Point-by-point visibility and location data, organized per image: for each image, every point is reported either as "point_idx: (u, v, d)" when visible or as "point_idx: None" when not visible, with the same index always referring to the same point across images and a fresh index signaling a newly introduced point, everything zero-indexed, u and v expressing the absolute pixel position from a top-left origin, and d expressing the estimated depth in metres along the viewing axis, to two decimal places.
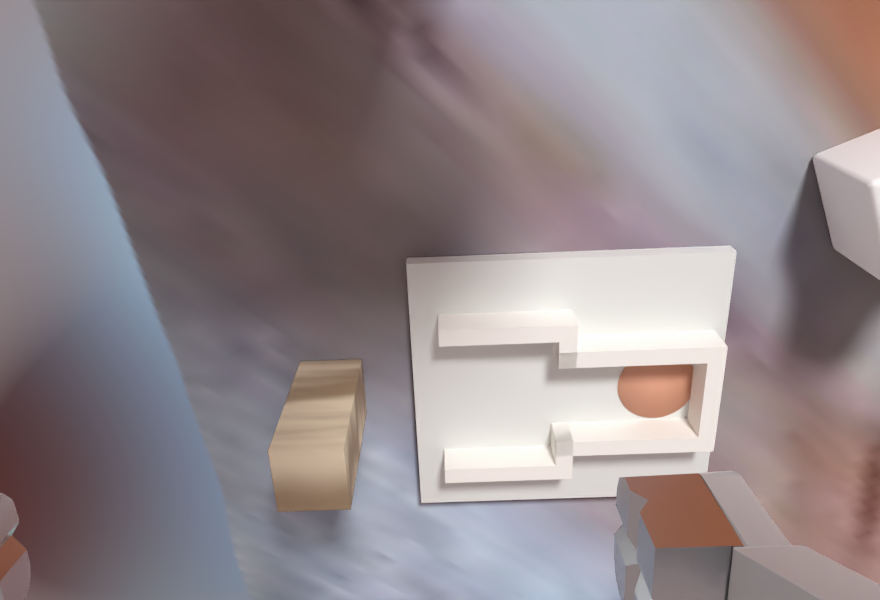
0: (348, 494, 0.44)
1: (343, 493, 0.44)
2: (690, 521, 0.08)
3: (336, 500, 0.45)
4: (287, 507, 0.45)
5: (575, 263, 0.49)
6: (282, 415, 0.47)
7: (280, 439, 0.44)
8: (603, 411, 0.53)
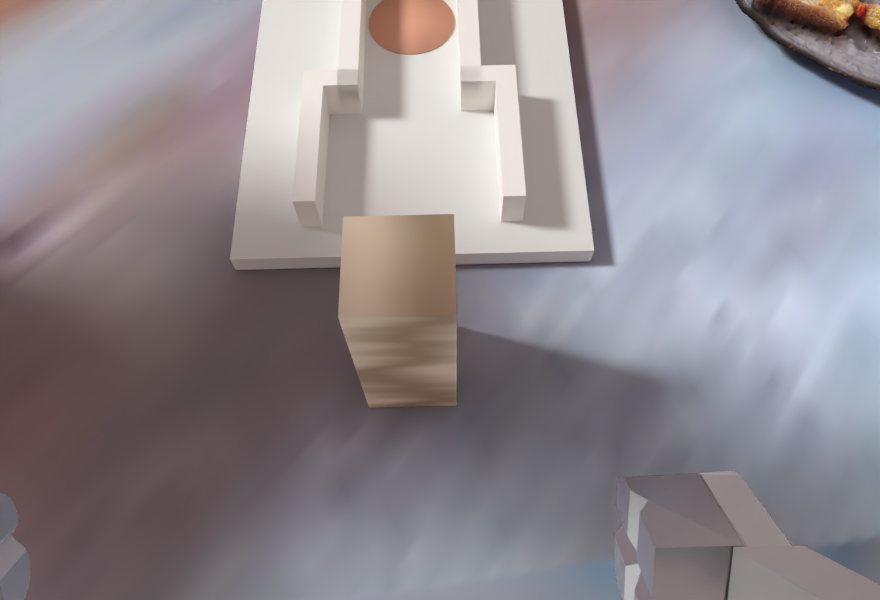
0: (426, 216, 0.29)
1: (424, 221, 0.29)
2: (690, 522, 0.08)
3: (436, 231, 0.29)
4: (449, 299, 0.28)
5: (256, 99, 0.45)
6: None
7: None
8: (445, 64, 0.46)
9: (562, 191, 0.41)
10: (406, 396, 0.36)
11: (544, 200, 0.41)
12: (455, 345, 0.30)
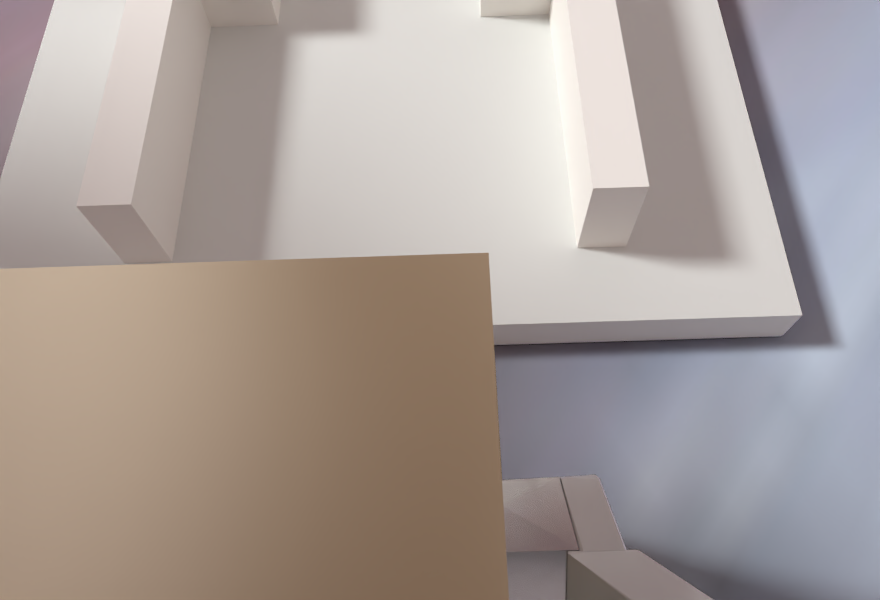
0: (367, 262, 0.07)
1: (354, 290, 0.06)
2: (535, 525, 0.08)
3: (410, 337, 0.06)
4: None
5: (67, 1, 0.22)
6: None
7: None
8: None
9: (710, 178, 0.19)
10: None
11: (671, 198, 0.18)
12: None
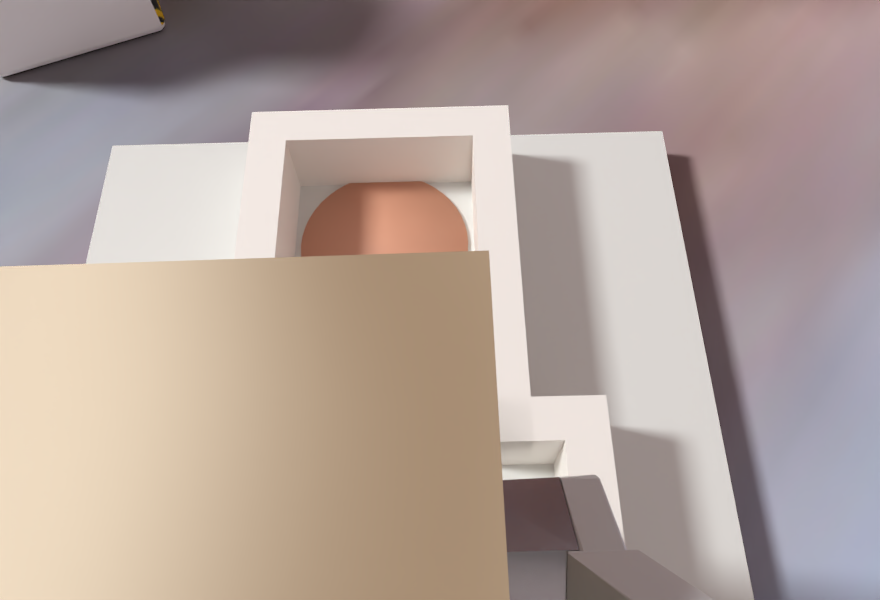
0: (367, 260, 0.07)
1: (354, 288, 0.06)
2: (535, 524, 0.08)
3: (410, 335, 0.06)
4: None
5: None
6: None
7: None
8: None
9: None
10: None
11: None
12: None
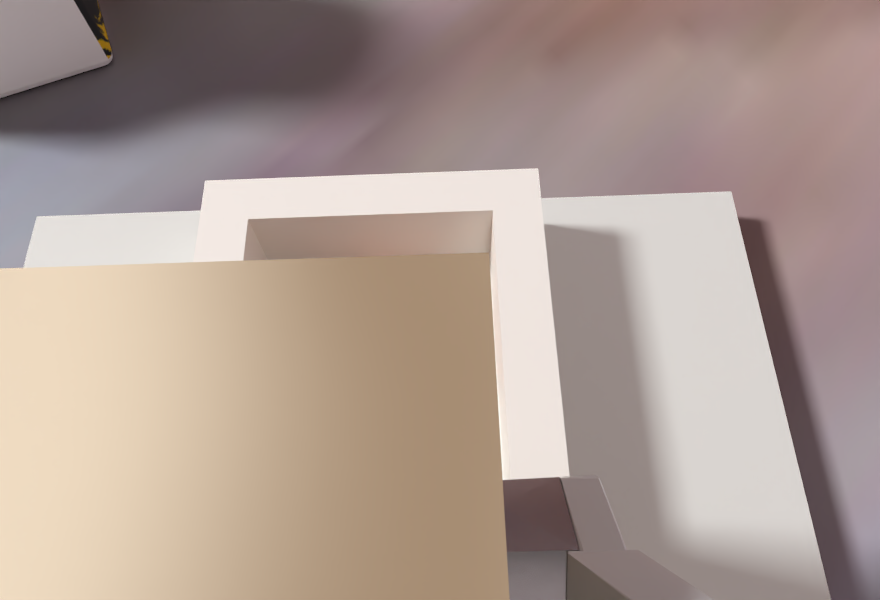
0: (368, 263, 0.07)
1: (354, 290, 0.06)
2: (535, 524, 0.08)
3: (411, 337, 0.06)
4: None
5: None
6: None
7: None
8: None
9: None
10: None
11: None
12: None
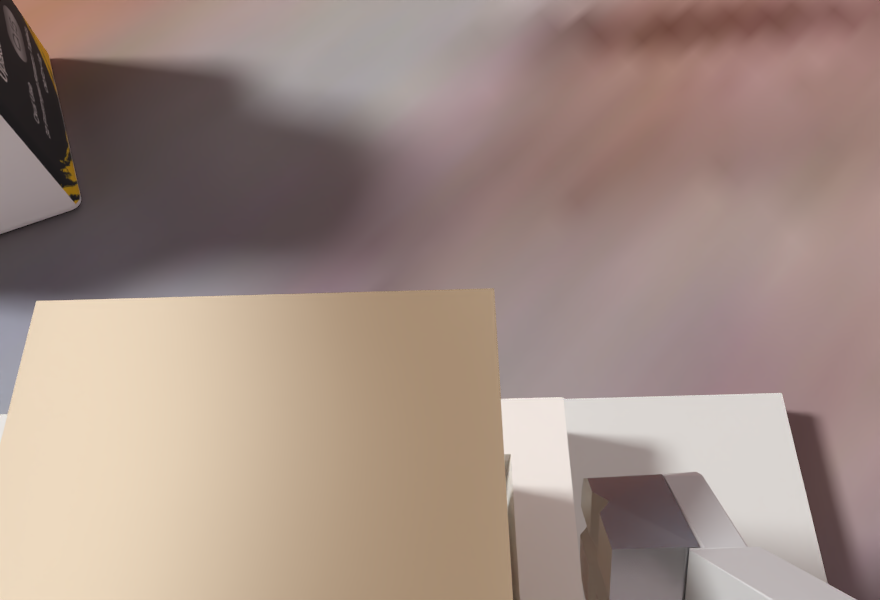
0: (382, 297, 0.07)
1: (370, 323, 0.07)
2: (650, 522, 0.08)
3: (422, 367, 0.07)
4: None
5: None
6: None
7: None
8: None
9: None
10: None
11: None
12: None
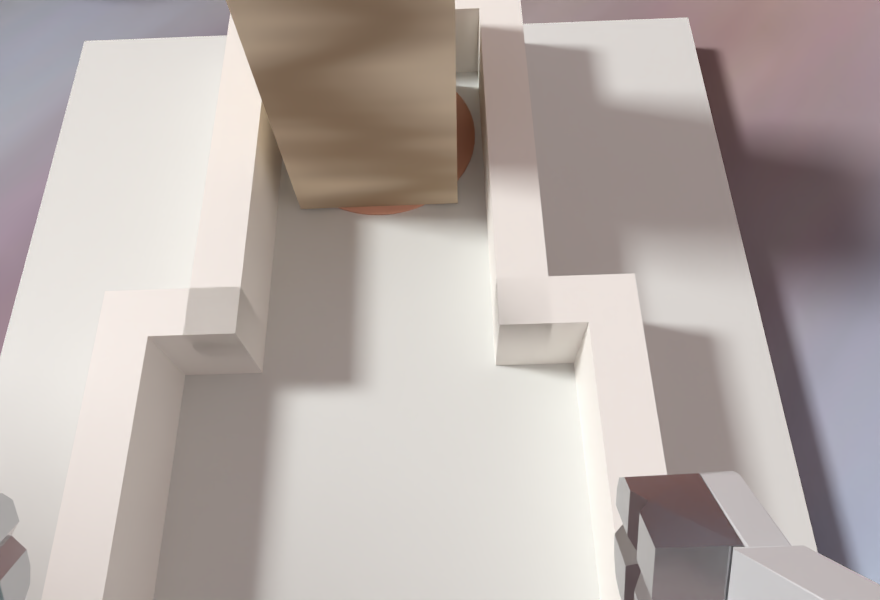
0: None
1: None
2: (691, 521, 0.08)
3: None
4: None
5: (21, 333, 0.19)
6: (228, 3, 0.14)
7: None
8: (457, 241, 0.20)
9: None
10: (365, 170, 0.19)
11: None
12: None
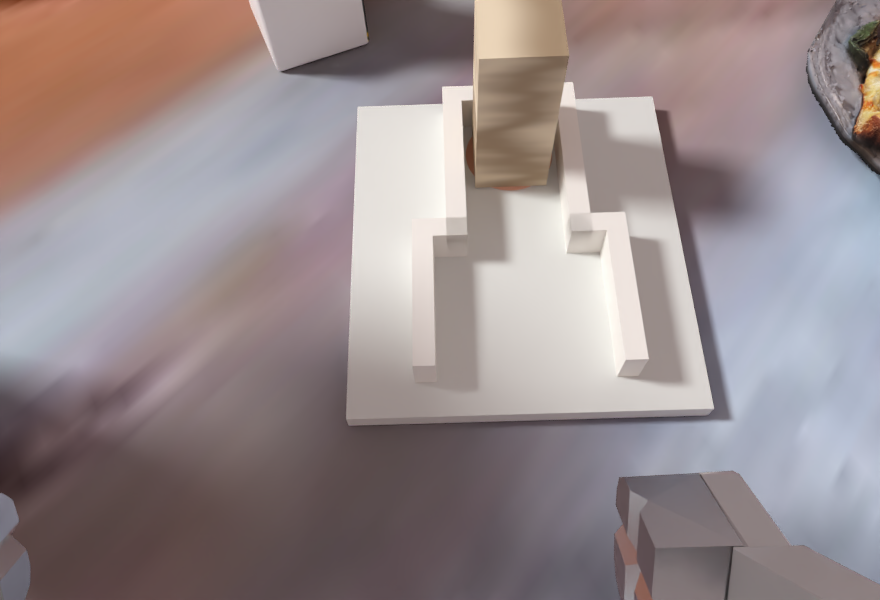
0: None
1: None
2: (690, 521, 0.08)
3: (548, 3, 0.38)
4: (562, 46, 0.37)
5: (359, 241, 0.45)
6: (477, 109, 0.40)
7: None
8: (547, 201, 0.46)
9: (676, 342, 0.41)
10: (509, 170, 0.45)
11: (658, 352, 0.41)
12: (560, 97, 0.39)
